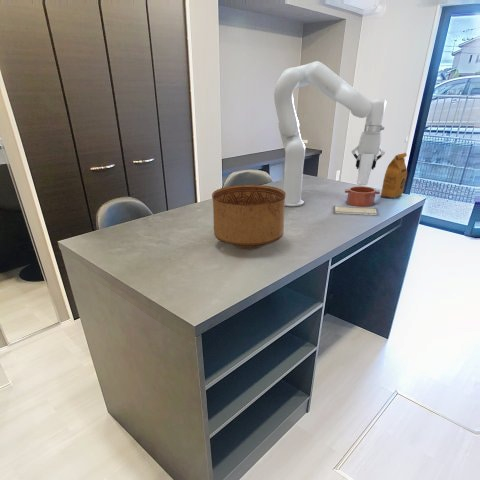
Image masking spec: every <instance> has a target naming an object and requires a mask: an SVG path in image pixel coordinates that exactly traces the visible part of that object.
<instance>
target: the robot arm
mask: <svg viewBox="0 0 480 480" xmlns="http://www.w3.org/2000/svg"><path fill="white" fill-rule="evenodd" d="M311 85H313V86H314V87H315V88H316V89H318V90H319V91H320V92H322V93H323V94H324V95H326V96H327V97H328V98H329V99H331V100H332V101H334V102H336V103H339V104H340V105H342V106H343V107H345V108H346V109H347V110H349V111H350V113H351V114H352V116H354V117H357V118H359V119H364V118H365V123H364V130H363V131H362V132H361V133H360V134H361V135H360V137H359V140H358V146H356V147H354V148H353V149H352V150H351V154H352V155H353V157H354V159H356V161H355V168H356V170H359V162H360V157H361V155H362V154H363V153H364V154H374V161H373V165H372V168H371V171H372V170H373V171H374V169H375V168H376V165H377V162H378V160H380V159H381V158H382V157H383V156H384V155H385V154H386V151H384V150H383V148H382V146H381V143H382V132H381V131H385V126H383V120H384V117H385V116H384V115H385V110H386V105H387V101H386V99H383V98H371V99H369V98H367V97H366V96H365V95H364V94H363V93H361V92H360V91H359V90H357V89H356V88H355V87H353V86H352V85H350V84H349V82H347V81H346V80H344V79H343V78H342V77H340V76H339V75H338V74H336V72H334V71H333V70H332V69H331V68H330V67H328V66H327V65H325V64H324V63H323V62H321V61H318V60H316V61H312V62H309V63H306V64H302V65H298V66H293V67H288V68H286V69H284V70H283V72H282V73H281V75H280V77H279V78H278V80H277V81H276V85H275V87H274V92H273V99H274V105H275V110H276V115H277V119H278V129H279V133H280V138H281V141H282V145H283V150H284V152H285V154H284V155H285V156H284V169H283V171H284V172H283V189H282V190H283V191H284V192H285V193H286V197H285V205H284V207H299V206H300V207H301V206H303V205H304V200H302V189H303V188H302V187H303V178H304V177H303V175H304V164H305V158H306V157H305V156H306V145H305V143H304V141H303V140H302V137H301V132H300V121H299V119H298V116H297V112H296V108H295V102H294V91H295V90H296V89H299V88H304V87H307V86H311ZM356 152H357V153H356Z"/></svg>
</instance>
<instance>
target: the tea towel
mask: <svg viewBox="0 0 480 480" xmlns="http://www.w3.org/2000/svg"><path fill="white" fill-rule="evenodd" d="M334 214H340V215H342V214H343V215H357V216H359V215H360V216H361V215H362V216H378V212H377V209H376V207H373V206H368V207H358V206H352V205H334Z"/></svg>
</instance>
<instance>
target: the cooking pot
mask: <svg viewBox="0 0 480 480" xmlns="http://www.w3.org/2000/svg"><path fill="white" fill-rule="evenodd" d="M344 193H345V194H347V198H346V204H348V206H352V207H373V205H374V203H375V198H376V195H381V191H380V190H379V189H376V188H373V187H370V186H363V185H358V186H351V187H349V188H345V189H344Z"/></svg>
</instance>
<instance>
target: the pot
mask: <svg viewBox="0 0 480 480" xmlns="http://www.w3.org/2000/svg"><path fill="white" fill-rule="evenodd" d="M285 197H286V193H285V192H284V191H283V189H282V188H278V187H274V186H271V185H262V184H238V185H230V186H225V187H221V188H219V189H216V190H214V191H213V192H212V194H211V198H212V209H213V210H212V213H213V235H214V238H216V239H217V240H218V241H220V242H222V243H224V244H227V245H230V246H234V247H238V248H241V249H247V250H248V249H249V250H250V249H257V248H259V247H264V246H266V245H269V244H273V243H276V242H277V241H279V240H280V239H281V238H283V236H284V230H285V206H284V205H285Z"/></svg>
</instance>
